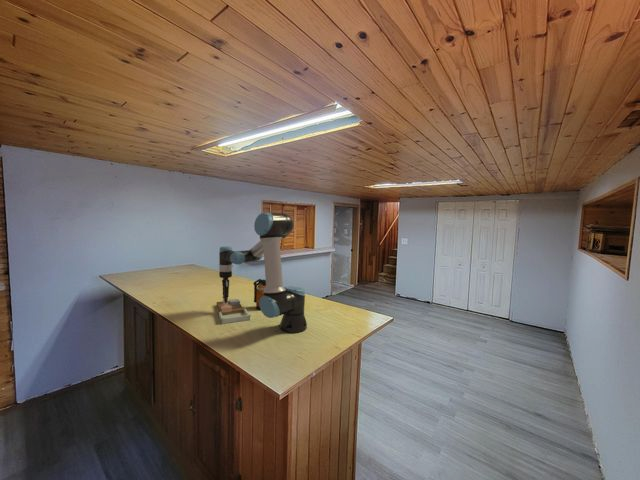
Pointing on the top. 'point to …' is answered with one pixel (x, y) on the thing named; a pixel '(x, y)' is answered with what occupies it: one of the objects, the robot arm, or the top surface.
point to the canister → (259, 291)
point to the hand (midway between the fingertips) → (225, 307)
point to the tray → (234, 317)
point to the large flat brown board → (235, 309)
